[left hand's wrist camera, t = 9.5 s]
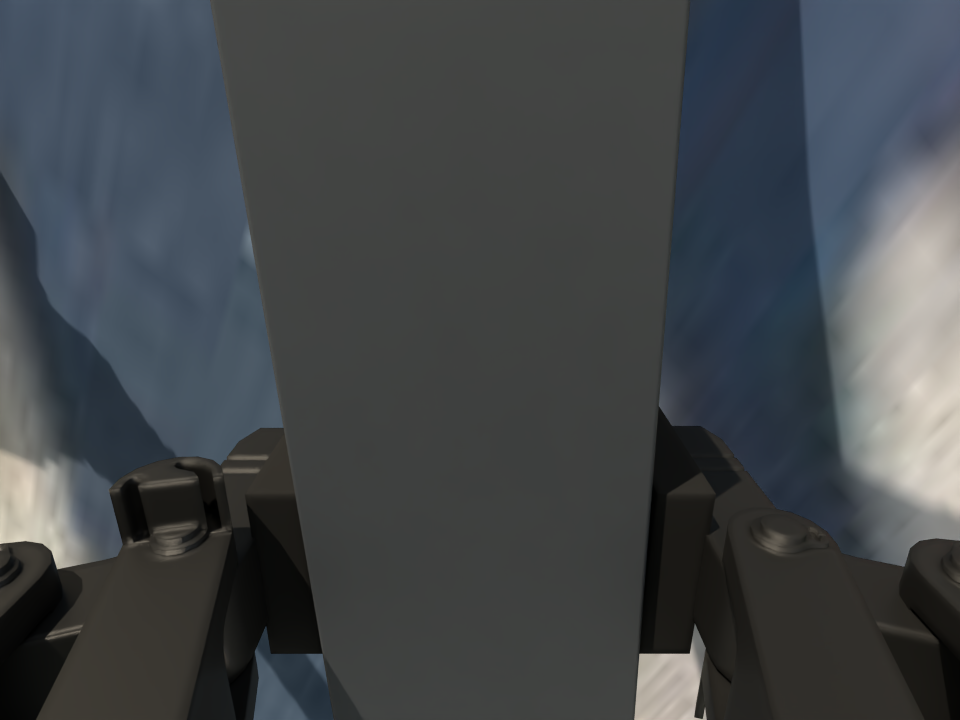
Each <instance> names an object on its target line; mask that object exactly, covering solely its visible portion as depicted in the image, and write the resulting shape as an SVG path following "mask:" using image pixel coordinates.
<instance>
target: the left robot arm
mask: <svg viewBox="0 0 960 720" xmlns="http://www.w3.org/2000/svg"><path fill="white" fill-rule="evenodd" d="M109 492H110V496H111V500H112V504H113V508H114V512H115V516H116V520H117V523H118V527H119V531H120V535H121V539H122V543H123V546H122V548H121V550H120V552H119V554H118V556H117V557H114V558H110V559H106V560H102V561H97V562H92V563H87V564H82V565H77V566H72V567H67V568H62V569H57V568H56V565H55V561H54V558H53V555H52V552H51V550H49V549H48V548H47V547H46V546H44V545H43V544H40V543H34V542H27V541H23V542H14V543H4V544H0V720H253V718H254V710H255V702H256V695H257V687H258V679H259V677H258V669H257V662H256V657H255V649H256V647H257V645H258V643H259V640H260V638H261V636H262V633H263V631H264V629H265V626H266V627H267V633H268V639H269V645H270V651H271V654H323V653H322V647H321V641H320V636H319V630H318V624H317V618H316V612H315V607H314V601H313V595H312V589H311V583H310V578H309V572H308V566H307V560H306V554H305V548H304V543H303V537H302V531H301V525H300V519H299V514H298V508H297V502H296V496H295V490H294V485H293V479H292V473H291V467H290V461H289V455H288V450H287V444H286V438H285V432H284V428H260V429H258V430H257V431H255V432H253V433H252V434H250V435H249V436H247V437H245V438H244V439H242V440H241V441H239V442H238V444H237V445H236V446H235V447H234V449H233V450H232V451H231V453H230V454H229V455H228V456H227V460H224V462H223V463H222V464H221V465H219V464H217V463H216V462H215V461H214V460H210V459H206V458H201V457H177V458H172V459H166V460H161V461H157V462H154V463H151V464H148V465H146V466H143V467H140V468H137V469H135V470H134V471H132V472H130V473H129V474H127V475H125V476H123V477H122V478H120V479H119V480H118V481H117V482H116V483H115V484H114V485H113V486H112V487H111V488H110V489H109ZM694 624H696V626H697V629H698V631H699V633H700V636H701V638H702V640H703V642H704V645H705V647H706V651H705V657H704V662H703V668H702V674H701V679H700V685H699V691H698V696H697V702H696V709H695V716H694V717H695V718H700V719H703V714H704V709H706V717H707V720H960V541H954V540H945V539H930V540H923V541H919V542H918V543H916V544H915V545H914V546H913V547H911V548H910V551H909V554H908V557H907V561H906V564H905V567H902V566H897V565H892V564H887V563H882V562H877V561H872V560H867V559H862V558H857V557H853V556H850V555H846V554H842V553H841V551H840V549H839V547H838V545H837V544H836V542H835V541H834V540H833V539H832V537H831V536H830V535H829V534H828V532H827V531H825V530H824V529H822V528H821V527H819V526H818V525H816V524H815V523H813V522H812V521H810V520H808V519H806V518H803V517H801V516H799V515H796V514H794V513H791V512H787V511H783V510H778V509H776V508H775V506H774V505H773V504H772V503H771V501H770V500H769V499H768V498H767V496H766V495H765V494H764V492H763V491H762V490H761V489H760V487H759V486H758V485H757V483H756V482H755V481H754V480H753V478H752V477H751V476H750V475H749V473H748V472H747V471H744V467H743V466H742V464H741V463H740V462H739V461H738V459H737V458H734V454H733V453H732V452H731V450H730V449H729V448H728V447H727V445H726V444H725V443H724V441H723V440H722V439H720V438H719V437H717V436H716V435H714V434H712V433H711V432H709V431H708V430H706V429H704V428H703V427H701V426H671V424H670V423H669V421H668V420H667V418H666V416H665V415H664V413H663V412H662V410H661V409H660V407H658V420H657V433H656V445H655V458H654V471H653V484H652V497H651V510H650V522H649V535H648V548H647V561H646V574H645V587H644V600H643V612H642V625H641V638H640V651H639V654H690V649H691V642H692V636H693V630H694Z"/></svg>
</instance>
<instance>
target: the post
mask: <svg viewBox="0 0 960 720" xmlns="http://www.w3.org/2000/svg"><path fill="white" fill-rule="evenodd" d="M210 2H211V8H212V14H213V20H214V26H215V31H216V37H217V43H218V49H219V55H220V60H221V66H222V72H223V78H224V84H225V89H226V95H227V101H228V107H229V113H230V118H231V124H232V130H233V136H234V142H235V148H236V153H237V159H238V165H239V171H240V177H241V182H242V188H243V194H244V200H245V206H246V211H247V217H248V223H249V229H250V235H251V241H252V246H253V252H254V258H255V264H256V270H257V275H258V281H259V287H260V293H261V299H262V304H263V310H264V316H265V322H266V328H267V333H268V339H269V345H270V351H271V357H272V363H273V368H274V374H275V380H276V386H277V392H278V397H279V403H280V409H281V415H282V421H283V426H284V432H285V438H286V444H287V450H288V455H289V461H290V467H291V473H292V479H293V485H294V490H295V496H296V502H297V508H298V514H299V519H300V525H301V531H302V537H303V543H304V548H305V554H306V560H307V566H308V572H309V578H310V583H311V589H312V595H313V601H314V607H315V612H316V618H317V624H318V630H319V636H320V641H321V647H322V653H323V659H324V665H325V670H326V676H327V682H328V688H329V694H330V700H331V705H332V711H333V717H334V720H634V715H635V702H636V689H637V677H638V664H639V651H640V638H641V625H642V612H643V600H644V587H645V574H646V561H647V548H648V535H649V522H650V510H651V497H652V484H653V471H654V458H655V445H656V433H657V420H658V407H659V394H660V381H661V368H662V355H663V343H664V330H665V317H666V304H667V291H668V278H669V266H670V253H671V240H672V227H673V214H674V201H675V189H676V176H677V163H678V150H679V137H680V124H681V111H682V99H683V86H684V73H685V60H686V47H687V34H688V22H689V9H690V0H210Z"/></svg>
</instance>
